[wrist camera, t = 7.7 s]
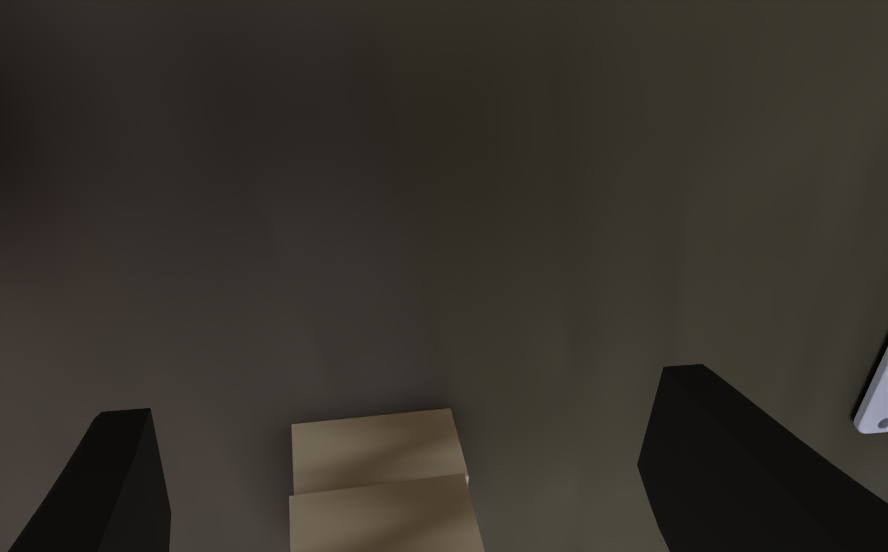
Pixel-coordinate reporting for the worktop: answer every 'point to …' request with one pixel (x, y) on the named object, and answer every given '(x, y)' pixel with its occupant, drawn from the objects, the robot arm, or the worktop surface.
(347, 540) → the upper slab
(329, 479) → the lower slab
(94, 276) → the worktop surface
